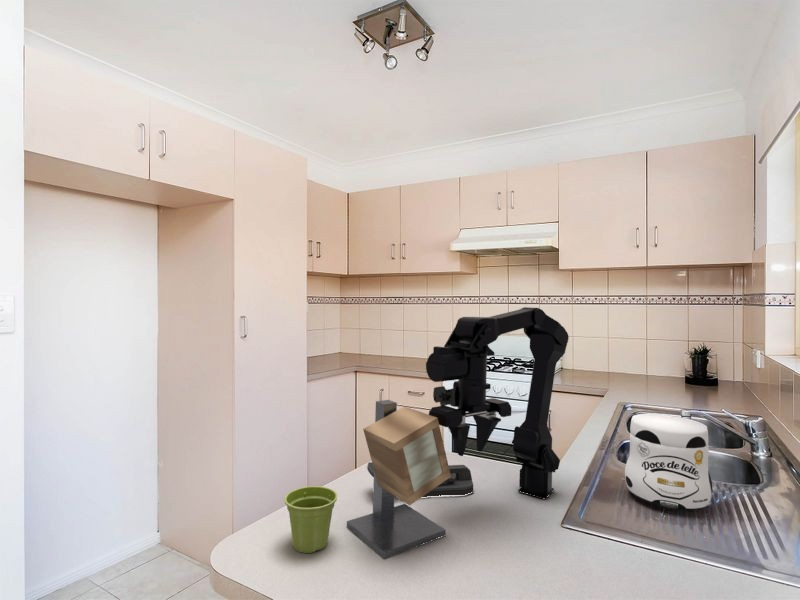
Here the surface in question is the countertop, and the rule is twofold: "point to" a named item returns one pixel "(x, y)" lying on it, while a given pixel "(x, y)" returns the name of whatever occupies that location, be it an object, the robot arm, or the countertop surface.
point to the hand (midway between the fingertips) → (470, 453)
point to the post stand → (392, 516)
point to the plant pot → (310, 516)
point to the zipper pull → (448, 481)
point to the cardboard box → (407, 454)
